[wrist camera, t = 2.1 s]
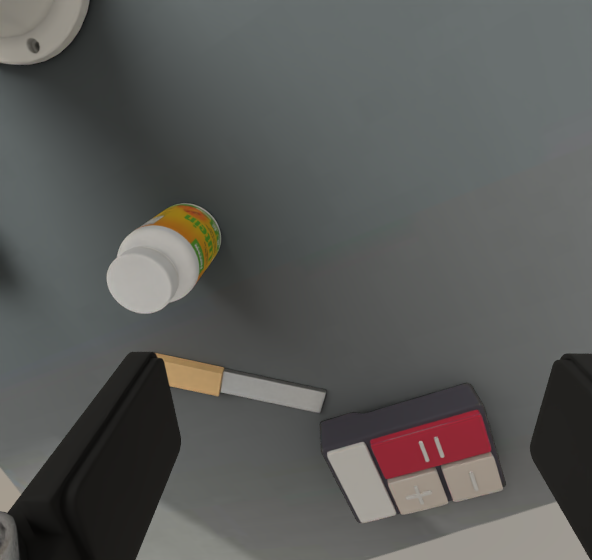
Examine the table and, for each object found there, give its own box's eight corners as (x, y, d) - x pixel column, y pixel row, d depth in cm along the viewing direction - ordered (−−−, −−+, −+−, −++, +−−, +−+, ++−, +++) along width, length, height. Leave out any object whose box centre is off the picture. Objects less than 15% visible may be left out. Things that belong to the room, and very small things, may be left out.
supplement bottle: (235, 246, 32) (201, 301, 24) (184, 275, 34) (134, 337, 25) (196, 189, 31) (143, 225, 22) (144, 222, 32) (75, 269, 23)
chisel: (151, 375, 39) (146, 381, 38) (152, 351, 38) (148, 358, 37) (319, 410, 39) (319, 417, 38) (326, 388, 38) (326, 396, 37)
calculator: (511, 494, 37) (359, 532, 39) (491, 457, 41) (354, 493, 43) (487, 408, 33) (319, 456, 36) (467, 376, 37) (318, 421, 39)
